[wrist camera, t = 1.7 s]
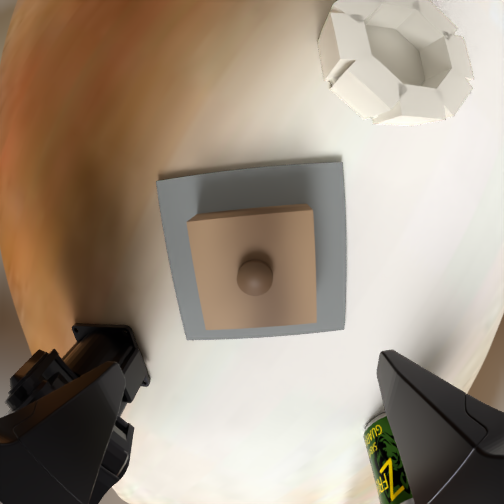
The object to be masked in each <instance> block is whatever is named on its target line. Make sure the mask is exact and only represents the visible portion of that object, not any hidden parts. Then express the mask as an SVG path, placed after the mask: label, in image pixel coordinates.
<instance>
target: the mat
mask: <svg viewBox="0 0 504 504" xmlns="http://www.w3.org/2000/svg"><path fill="white" fill-rule="evenodd" d="M156 185H157V192H158V199H159V206H160V212H161V218H162V225H163V230H164V236H165V242H166V247H167V253H168V258H169V263H170V268H171V273H172V278H173V283H174V287H175V292H176V297H177V301H178V305H179V310H180V314H181V318H182V322H183V327H184V331H185V335H186V339H187V340H214V339H240V338H259V337H274V336H287V335H298V334H309V333H319V332H328V331H336V330H344V325H345V303H346V215H345V193H344V176H343V163H342V162H329V163H309V164H294V165H281V166H269V167H258V168H248V169H239V170H230V171H222V172H214V173H206V174H199V175H192V176H185V177H179V178H172V179H166V180H160V181H156ZM294 204H308V205H309V206H310V207H311V209H312V210H313V218H314V236H315V260H316V302H317V323H309V324H299V325H287V326H274V327H260V328H243V329H222V330H206V328H205V323H204V318H203V313H202V308H201V303H200V298H199V293H198V287H197V282H196V277H195V271H194V265H193V260H192V254H191V248H190V242H189V235H188V229H187V221H188V220H190V219H191V218H192V217H194V216H195V215H196V214H200V213H209V212H218V211H228V210H238V209H248V208H259V207H270V206H281V205H294Z"/></svg>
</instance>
